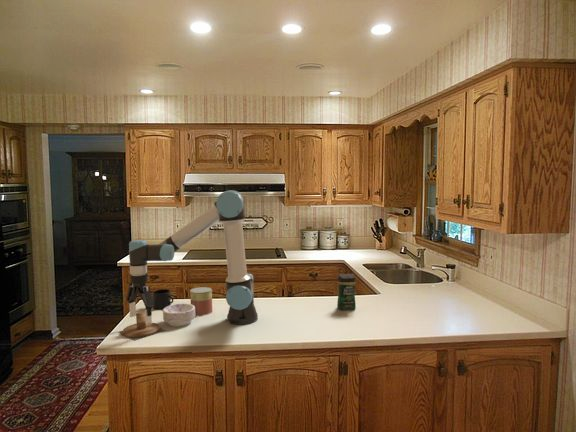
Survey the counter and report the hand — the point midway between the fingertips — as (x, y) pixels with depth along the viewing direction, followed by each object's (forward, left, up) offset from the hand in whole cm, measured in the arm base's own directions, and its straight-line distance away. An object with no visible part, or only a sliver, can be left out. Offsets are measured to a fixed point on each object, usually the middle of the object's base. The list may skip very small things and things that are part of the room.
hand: (140, 319), depth 192 cm
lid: (0, 0, -6) cm, 6 cm away
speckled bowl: (-4, -18, -6) cm, 20 cm away
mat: (0, 0, -6) cm, 6 cm away
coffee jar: (-55, -88, -6) cm, 104 cm away
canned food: (+2, -36, -6) cm, 37 cm away
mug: (+25, -28, -6) cm, 38 cm away
